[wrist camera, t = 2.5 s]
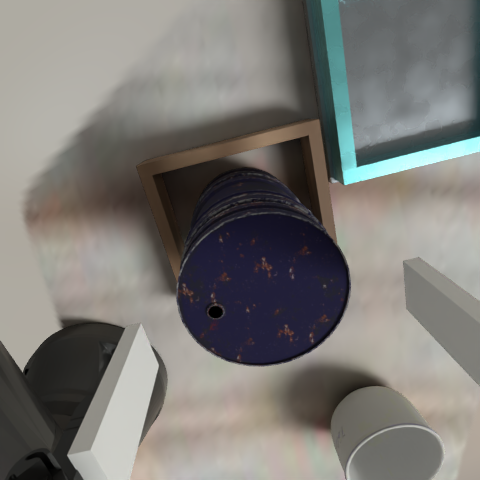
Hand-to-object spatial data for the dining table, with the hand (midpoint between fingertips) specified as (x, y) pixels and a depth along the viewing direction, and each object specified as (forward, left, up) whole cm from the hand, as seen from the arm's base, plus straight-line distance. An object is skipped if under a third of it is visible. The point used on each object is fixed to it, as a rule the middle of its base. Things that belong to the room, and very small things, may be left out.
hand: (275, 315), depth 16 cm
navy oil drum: (0, 0, -17) cm, 17 cm away
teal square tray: (+16, +9, -17) cm, 25 cm away
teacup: (+9, -30, -17) cm, 35 cm away
